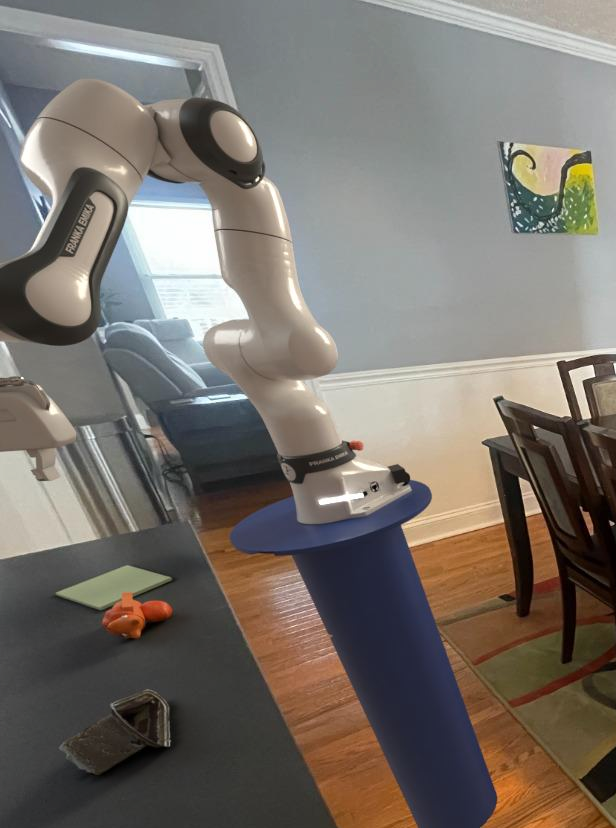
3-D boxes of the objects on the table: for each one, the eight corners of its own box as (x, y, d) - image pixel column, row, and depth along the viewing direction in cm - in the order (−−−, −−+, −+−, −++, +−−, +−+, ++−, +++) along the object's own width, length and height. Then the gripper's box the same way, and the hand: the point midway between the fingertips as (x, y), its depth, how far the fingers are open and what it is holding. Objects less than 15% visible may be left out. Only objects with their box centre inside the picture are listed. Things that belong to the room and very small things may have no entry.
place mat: (128, 567, 109) (127, 564, 109) (172, 580, 104) (171, 577, 104) (57, 595, 101) (54, 592, 101) (100, 610, 96) (98, 607, 96)
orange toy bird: (100, 587, 91) (100, 617, 83) (168, 582, 97) (174, 610, 89) (103, 617, 92) (103, 650, 85) (170, 611, 98) (176, 641, 90)
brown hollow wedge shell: (94, 729, 72) (10, 725, 61) (158, 689, 75) (89, 678, 64) (141, 789, 72) (66, 796, 61) (204, 747, 75) (143, 746, 64)
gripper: (56, 370, 79) (113, 468, 85) (-110, 380, 78) (-40, 479, 84) (7, 380, 73) (72, 485, 80) (-172, 391, 72) (-92, 496, 78)
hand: (13, 482), depth 82 cm, fingers open, 8 cm apart
